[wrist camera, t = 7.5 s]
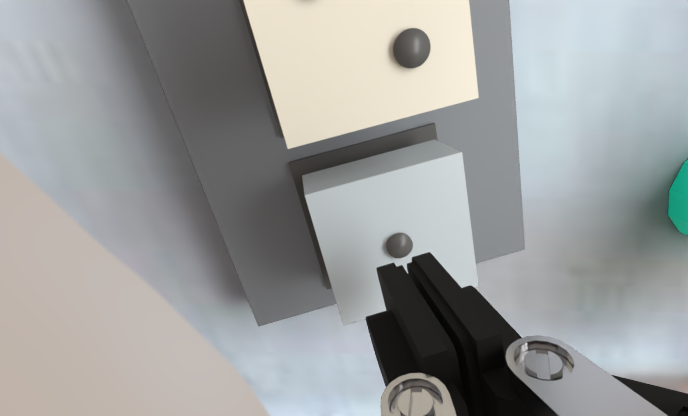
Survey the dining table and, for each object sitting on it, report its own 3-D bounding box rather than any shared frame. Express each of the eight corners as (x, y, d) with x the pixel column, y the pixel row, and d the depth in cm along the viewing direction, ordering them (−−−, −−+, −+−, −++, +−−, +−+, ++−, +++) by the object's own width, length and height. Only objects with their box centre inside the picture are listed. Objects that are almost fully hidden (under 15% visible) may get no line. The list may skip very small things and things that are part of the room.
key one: (451, 256, 16) (480, 288, 14) (335, 289, 16) (343, 328, 13) (434, 139, 14) (464, 152, 12) (302, 175, 14) (304, 196, 11)
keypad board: (502, 232, 19) (527, 251, 17) (261, 301, 19) (258, 329, 17) (447, -394, 11) (482, -496, 9) (24, -309, 11) (-37, -397, 9)
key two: (443, 93, 12) (481, 98, 10) (288, 134, 12) (287, 150, 9) (417, -100, 10) (457, -153, 8) (232, -56, 10) (213, -96, 8)
